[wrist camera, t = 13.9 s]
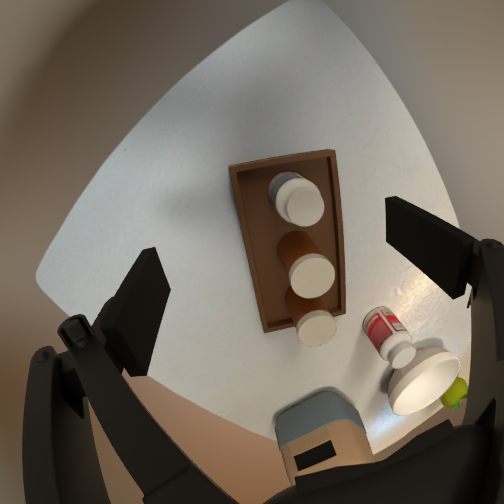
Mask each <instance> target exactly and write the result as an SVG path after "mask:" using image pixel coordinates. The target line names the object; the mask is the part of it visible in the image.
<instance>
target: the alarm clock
mask: <svg viewBox="0 0 504 504" xmlns="http://www.w3.org/2000/svg"><path fill="white" fill-rule="evenodd" d="M275 432H276V437H277V441H278V446H279V450H280V451H281V453H282V457H283V461H284V465H285V469H286V473H287V476H288V478H289V481H290V483H291V486H293V485H295V479H294V477H296V476H300V475H305V474H309V473H313V472H318V471H321V470H325V469H329V468H333V467H336V466H346V465H356V464H365V463H372V462H375V460H374V456H373V453H372V450H371V447H370V444H369V442H368V439H367V436H366V430H365V428H364V425H363V423H362V420H361V417H360V415H359V412H358V411H357V410H356V409H355V408H354V406H352V405H351V404H350V403H348V402H347V401H346V400H345V399H343V398H342V397H341V396H340V395H338V394H336V393H333V392H330V391H326V392H321V393H318V394H316V395H314V396H312V397H310V398H309V399H307V400H305V401H303V402H301V403H300V404H298V405H296V406H294V407H292V408H290V409H288V410H286V411H285V412H284V413H282V414H281V415H280V416H279V417H278V419H277V422H276V426H275Z"/></svg>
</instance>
